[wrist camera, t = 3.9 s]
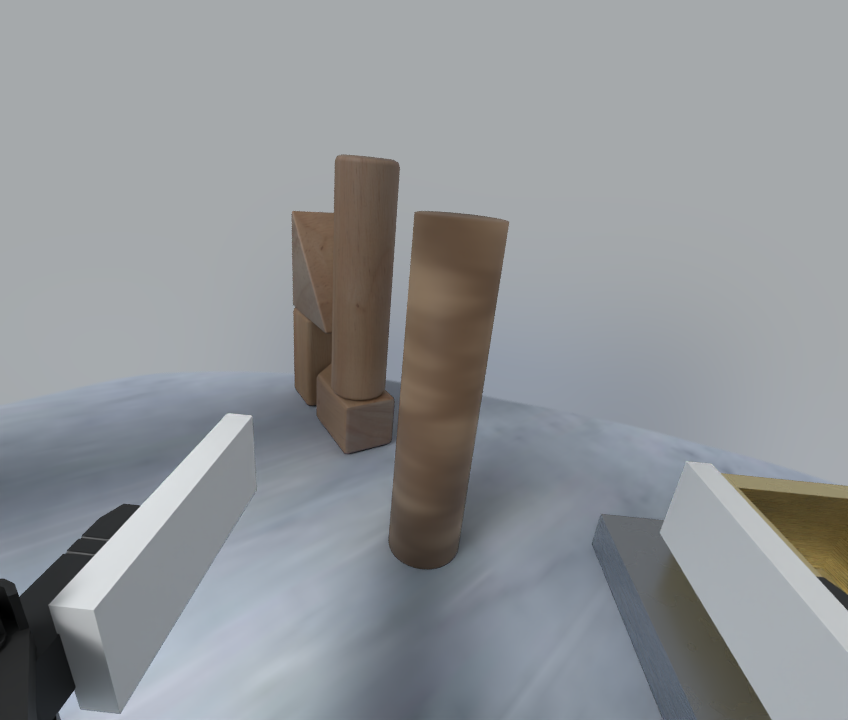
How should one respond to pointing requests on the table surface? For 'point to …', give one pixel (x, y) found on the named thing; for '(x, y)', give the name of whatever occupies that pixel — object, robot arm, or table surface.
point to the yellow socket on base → (684, 612)
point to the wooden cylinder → (442, 379)
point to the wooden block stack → (347, 302)
